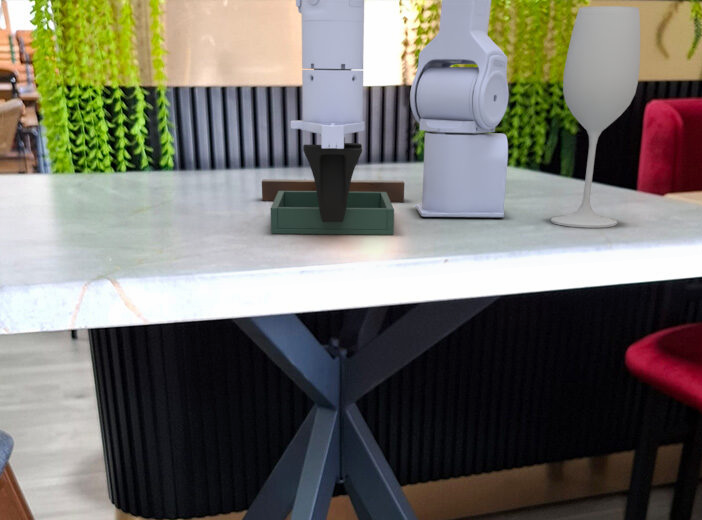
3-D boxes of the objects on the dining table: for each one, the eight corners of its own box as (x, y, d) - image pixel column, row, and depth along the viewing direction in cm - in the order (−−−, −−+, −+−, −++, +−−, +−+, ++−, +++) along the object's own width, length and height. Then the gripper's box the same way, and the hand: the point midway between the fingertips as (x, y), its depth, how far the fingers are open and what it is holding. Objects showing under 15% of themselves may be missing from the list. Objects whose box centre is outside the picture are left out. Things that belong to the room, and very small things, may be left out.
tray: (385, 214, 104) (386, 191, 103) (393, 234, 91) (394, 209, 90) (278, 213, 103) (278, 190, 102) (271, 233, 90) (270, 207, 89)
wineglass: (585, 230, 95) (611, 4, 86) (534, 220, 101) (555, 8, 92) (633, 224, 99) (663, 8, 90) (582, 215, 104) (606, 11, 95)
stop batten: (402, 200, 116) (403, 180, 114) (403, 202, 114) (404, 182, 113) (263, 198, 115) (262, 179, 114) (262, 200, 113) (261, 180, 112)
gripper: (292, 69, 90) (295, 210, 96) (286, 69, 77) (289, 232, 83) (363, 70, 90) (361, 211, 96) (368, 70, 77) (365, 233, 83)
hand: (332, 221), depth 89 cm, fingers closed
